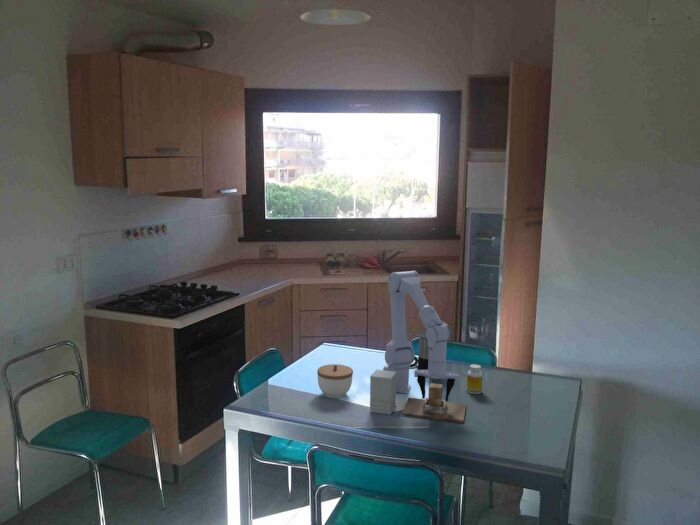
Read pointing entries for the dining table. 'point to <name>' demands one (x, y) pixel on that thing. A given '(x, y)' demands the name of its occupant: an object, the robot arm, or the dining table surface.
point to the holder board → (434, 410)
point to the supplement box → (383, 391)
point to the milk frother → (422, 353)
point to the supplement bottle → (474, 379)
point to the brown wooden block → (435, 395)
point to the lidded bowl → (334, 380)
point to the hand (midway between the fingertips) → (435, 398)
